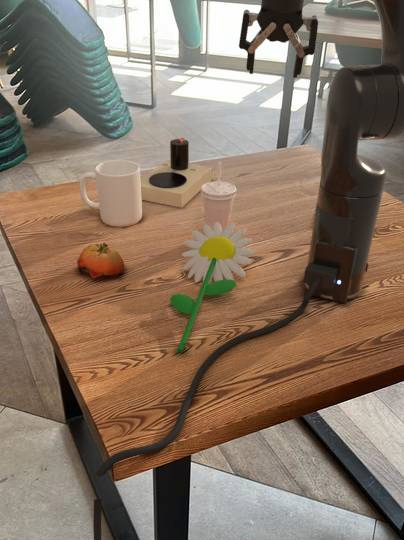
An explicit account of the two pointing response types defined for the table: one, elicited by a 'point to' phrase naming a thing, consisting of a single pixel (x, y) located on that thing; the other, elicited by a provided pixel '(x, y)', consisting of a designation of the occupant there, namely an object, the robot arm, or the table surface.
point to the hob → (179, 194)
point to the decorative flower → (212, 267)
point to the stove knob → (179, 154)
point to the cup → (116, 192)
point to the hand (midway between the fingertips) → (273, 74)
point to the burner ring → (167, 180)
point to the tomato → (101, 260)
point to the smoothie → (218, 201)
